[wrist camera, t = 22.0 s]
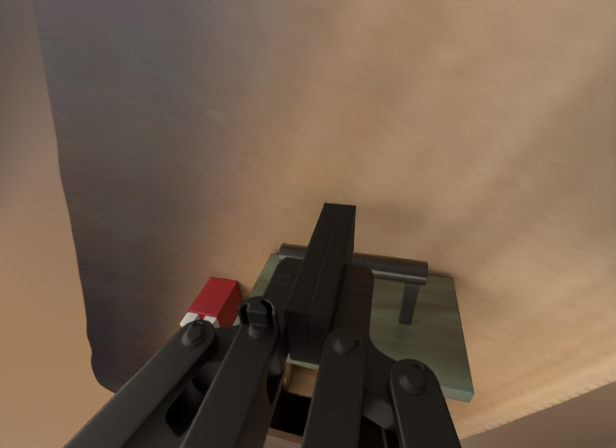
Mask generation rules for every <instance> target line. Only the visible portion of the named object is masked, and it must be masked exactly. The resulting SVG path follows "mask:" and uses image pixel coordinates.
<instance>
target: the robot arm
mask: <svg viewBox="0 0 616 448" xmlns="http://www.w3.org/2000/svg"><path fill="white" fill-rule="evenodd" d="M355 214H356V206H353V205H342V204H331V203H325V204H324V206H323V209H322V211H321V214H320V217H319V219H318V222H317V224H316V227H315V230H314V232H313V235H312V237H311V240H310V243H309V245H308V248H307V250H306V253H305V256H304V258H303V259H298V258H290V257H285V258H284V259H283V260H282V261H281V262H280V263H278V264H277V266H276V268H275V270H274V272H273V276H272V277H271V279H270V281H269V283H268V285H267V287H266V289H265V291H264V293H263V296H254V297H250V298H247V299H246V300H244V301H243V302H241V303H240V305H239V306H238V307H237V312H238V316H239V320H240V324H238V325H234V326H227V327H219V328H214V325H213V324H212V323H211V322H210V321H207V320H203V319H200V320H194V321H191V322H189V323H187V324H185V325H184V326H183V327H182V328H180V329H179V330H178V331H177V332H176V333H175V334H174V335H173V336H172V337H171V338H170V339H169V340H168V341H167V342H166V343H165V344H164V345H163V346H162V347H161V348H160V349H159V350H158V351H157V352H156V353H155V355H154V356H153V357H152V358H151V359H150V360H149V361H148V362H147V363H146V364H145V365H144V366H143V367H142V368H141V369H140V370H139V371H138V372H137V373H136V374H135V375H134V376H133V377H132V378H131V379H130V380H129V381H128V382H127V383H126V384H125V385H124V386H123V387H122V388H121V389H120V390H119V391H118V392H117V393H116V394H115V395H114V396H113V397H112V398H111V399H110V400H109V401H108V402H107V403H106V404H105V405H104V406H103V407H102V408H101V409H100V410H99V411H98V412H97V413H96V414H95V415H94V416H93V417H92V418H91V419H90V420H89V421H88V422H87V424H85V425H84V426H83V427H82V428H81V429H80V430H79V431H78V432H77V433H76V434H75V435H74V437H73V438H72V439H71V440H70V441H69V442H68V443H67V444H66V445H65V446H64V447H63V448H263V446H264V443H265V440H266V437H267V433H268V430H269V427H270V424H271V420H272V417H273V414H274V411H275V408H276V404H277V401H278V398H279V395H280V391H281V388H282V385H283V382H284V378H285V375H286V365H285V363H286V360H287V357H288V354H290V360H295V361H300V362H305V363H310V364H314V365H319V369H318V373H317V378H316V382H315V386H314V391H313V395H312V399H311V404H310V408H309V413H308V417H307V421H306V426H305V430H304V434H303V439H302V443H301V447H300V448H358V443H359V432H360V422H361V414H363V415H364V416H366V417H367V418H369V419H370V420H372V421H374V422H375V423H377V424H378V425H380V426H381V428H382V434H383V440H384V446H385V448H461V445H460V442H459V439H458V436H457V433H456V430H455V427H454V424H453V422H452V419H451V416H450V413H449V410H448V407H447V404H446V401H445V399H444V396H443V393H442V390H441V387H440V384H439V381H438V379H437V377H436V375H435V374H434V372H433V371H432V370H431V369H430V368H429V367H428V366H427V365H426V364H424V363H422V362H420V361H418V360H415V359H409V358H407V359H402V360H399V361H396V360H394V359H392V358H391V357H389V356H387V355H385V354H383V353H382V352H380V351H379V350H378V349H377V348H376V347H375V346H374V344H373V342H372V341H371V338H370V332H369V329H370V318H371V308H372V297H373V287H374V275H373V273H372V271H371V268H370V267H364V266H356V265H351V261H352V255H353V250H354V232H355Z"/></svg>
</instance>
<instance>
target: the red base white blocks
mask: <svg viewBox="0 0 616 448" xmlns="http://www.w3.org/2000/svg"><path fill="white" fill-rule="evenodd" d="M241 302H242V298H241V294H240V290H239V286H238V282H237V281H232V280H225V279H219V278H213V277H211V278H210V280H209V281H208V282H207V284H206V285H205V287H204V288H203V289H202V291H201V292H200V294H199V295H198V297H197V298H196V299H195V301H194V302H193V304H192V305H191V306H190V308H189V309H188V313H187V314H186V316H185V317H184V318H183V320H182V321H181V323H180V325H181V327H183V326H184V325H185V324H187V323H189V322H191V321H194V320H200V319H203V320H207V321H210V322H211V323H212V324H213V325H214V328H219V327H227V326H233V324H234V322H235V320H236V319H237V317H238V312H237V307H238V306H239V305H240V303H241Z"/></svg>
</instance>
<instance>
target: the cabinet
mask: <svg viewBox="0 0 616 448" xmlns="http://www.w3.org/2000/svg"><path fill="white" fill-rule="evenodd" d="M311 399H312V398H308V397H304V396H300V395H295V394H291V393H287V392H284V388H283V385H282V388H281V391H280V395H279V398H278V401H277V404H276V408H275V411H274V414H273V417H272V420H271V424H270V427H269V430H268V433H267V437H266V440H265V443H264V446H263V448H300V447H301V443H302V439H303V434H304V430H305V426H306V421H307V417H308V413H309V408H310V404H311ZM358 448H385V446H384V440H383V434H382V428H381V426H380V425H378V424H377V423H375V422H374V421H372V420H370V419H369V418H367V417H366V416H364V415H363V414H361V422H360V432H359V443H358Z"/></svg>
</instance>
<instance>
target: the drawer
mask: <svg viewBox="0 0 616 448" xmlns="http://www.w3.org/2000/svg"><path fill="white" fill-rule="evenodd" d="M307 248H308V246H301V245H293V244H286V243H283V244H282V245H281V247H280V250H279V254H271V255H270V257H269V259H268V261H267V262H266V264H265V266H264V268H263V270H262V272H261V274H260V275H259V277H258V279H257V281H256V283H255V285H254V287H253V289H252V290H251V292H250V294H249V296H248V298H250V297H254V296H263V293H264V291H265V289H266V287H267V285H268V283H269V281H270V279H271V277H272V276H273V272H274V270H275V268H276V266H277V264H278V263H280V262H281V261H282V260H283V259H284V258H285V257H290V258H298V259H303V258H304V256H305V253H306V250H307ZM351 265H356V266H364V267H370V268H371V271H372V273H373V275H374V287H373V297H372V308H371V318H370V329H369V332H370V338H371V341H372V342H373V344H374V346H375V347H376V348H377V349H378V350H379V351H380V352H382V353H383V354H385V355H387V356H389V357H391V358H392V359H394V360H396V361H399V360H402V359H407V358H409V359H415V360H418V361H420V362H422V363H424V364H426V365H427V366H428V367H429V368H430V369H431V370H432V371H433V372H434V374H435V375H436V377H437V379H438V381H439V384H440V387H441V390H442V393H443V396H444V397H446V398H451V399H455V400H460V401H464V402H470V400H471V398H472V397H473V395H474V389H473V384H472V378H471V373H470V367H469V362H468V357H467V351H466V346H465V340H464V335H463V329H462V324H461V318H460V313H459V307H458V302H457V296H456V291H455V286H454V280H453V278H447V277H440V276H433V275H428V263H427V262H426V261H419V260H411V259H403V258H395V257H387V256H380V255H372V254H364V253H356V252H353V255H352V261H351ZM238 324H240V320H239V316H238V317H237V319H236V320H235V322H234V324H233V326H234V325H238ZM285 365H286V375H285V378H284V382H283V388H284V392H287V393H291V394H295V395H300V396H304V397H308V398H312V395H313V391H314V386H315V382H316V378H317V373H318V369H319V365H314V364H310V363H305V362H300V361H295V360H290V354H288V357H287V360H286V363H285Z"/></svg>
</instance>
